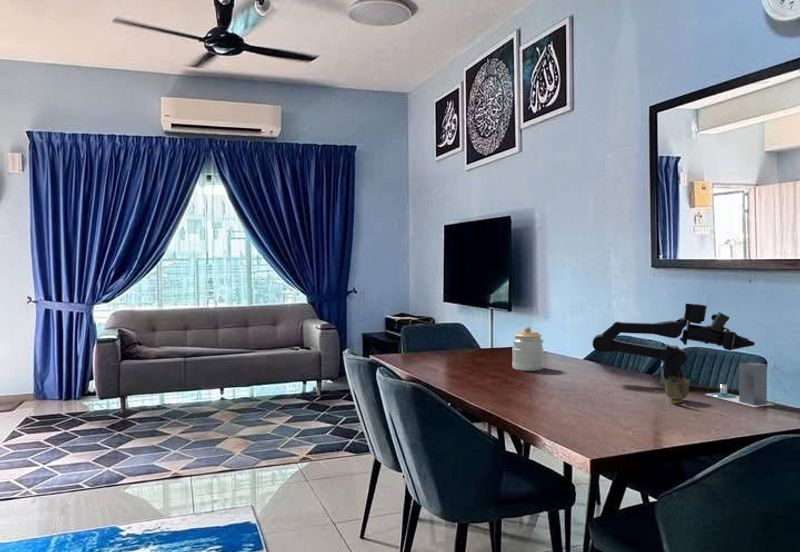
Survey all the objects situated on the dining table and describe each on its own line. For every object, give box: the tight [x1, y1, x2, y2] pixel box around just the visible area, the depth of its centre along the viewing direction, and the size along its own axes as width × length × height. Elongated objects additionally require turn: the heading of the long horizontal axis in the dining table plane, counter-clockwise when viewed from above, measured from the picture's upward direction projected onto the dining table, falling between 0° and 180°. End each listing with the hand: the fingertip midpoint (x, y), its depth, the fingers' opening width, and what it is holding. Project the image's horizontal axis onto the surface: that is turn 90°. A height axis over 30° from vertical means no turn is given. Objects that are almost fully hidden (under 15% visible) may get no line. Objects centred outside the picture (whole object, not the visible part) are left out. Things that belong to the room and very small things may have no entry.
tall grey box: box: [738, 361, 768, 405], centre depth 189 cm, size 5×5×12 cm
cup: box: [664, 376, 691, 406], centre depth 193 cm, size 8×7×8 cm
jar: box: [511, 326, 544, 372], centre depth 259 cm, size 13×13×18 cm
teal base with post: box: [710, 383, 737, 399], centre depth 200 cm, size 7×7×4 cm
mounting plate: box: [704, 392, 775, 408], centre depth 194 cm, size 19×8×1 cm, turn 19°
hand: (751, 342), depth 213 cm, fingers open, 9 cm apart
